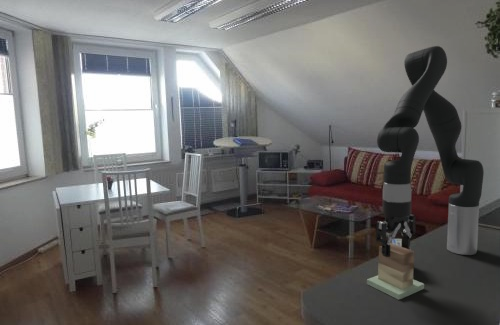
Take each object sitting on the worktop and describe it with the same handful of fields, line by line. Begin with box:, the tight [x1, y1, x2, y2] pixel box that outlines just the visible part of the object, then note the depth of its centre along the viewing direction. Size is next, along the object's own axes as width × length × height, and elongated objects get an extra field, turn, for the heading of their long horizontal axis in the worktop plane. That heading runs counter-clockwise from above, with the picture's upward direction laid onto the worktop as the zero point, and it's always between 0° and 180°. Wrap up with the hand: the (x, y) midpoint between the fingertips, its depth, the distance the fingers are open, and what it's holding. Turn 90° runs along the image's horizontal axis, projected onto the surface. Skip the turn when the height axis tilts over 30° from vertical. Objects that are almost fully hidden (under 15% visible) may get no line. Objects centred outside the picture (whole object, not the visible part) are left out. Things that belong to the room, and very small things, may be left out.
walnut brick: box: [378, 242, 415, 273], centre depth 102 cm, size 5×8×5 cm, turn 30°
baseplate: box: [366, 274, 425, 300], centre depth 103 cm, size 11×11×2 cm
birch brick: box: [377, 262, 414, 289], centre depth 103 cm, size 5×8×5 cm, turn 32°
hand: (395, 252), depth 102 cm, fingers open, 8 cm apart
